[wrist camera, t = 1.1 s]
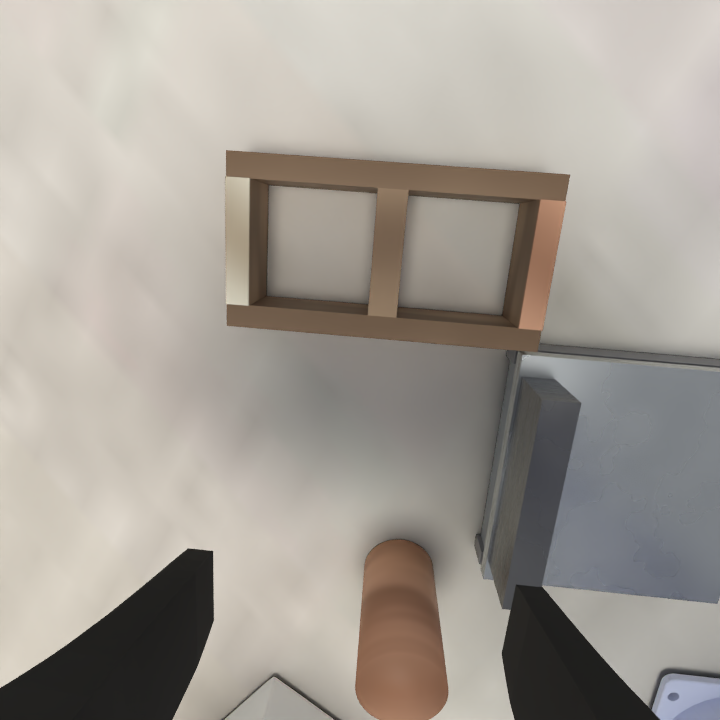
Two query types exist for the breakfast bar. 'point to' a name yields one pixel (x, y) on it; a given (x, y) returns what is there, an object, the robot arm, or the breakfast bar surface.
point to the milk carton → (277, 705)
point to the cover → (608, 479)
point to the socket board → (391, 249)
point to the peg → (400, 636)
